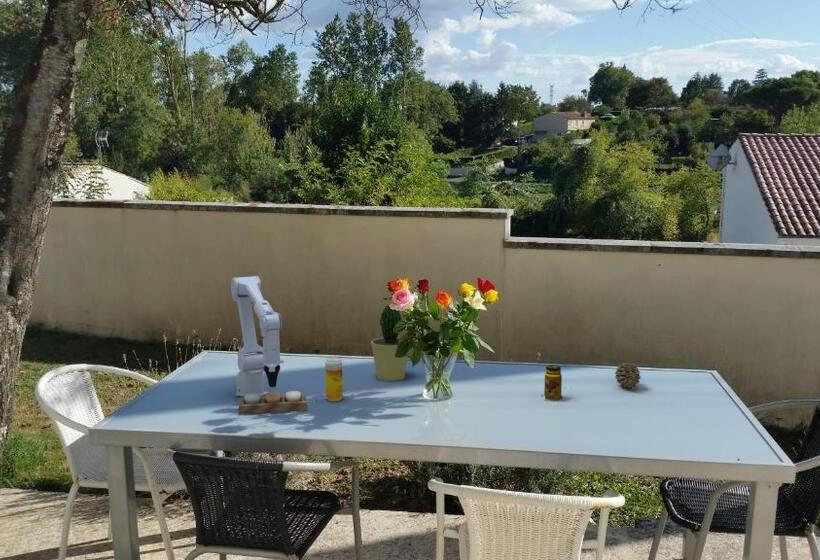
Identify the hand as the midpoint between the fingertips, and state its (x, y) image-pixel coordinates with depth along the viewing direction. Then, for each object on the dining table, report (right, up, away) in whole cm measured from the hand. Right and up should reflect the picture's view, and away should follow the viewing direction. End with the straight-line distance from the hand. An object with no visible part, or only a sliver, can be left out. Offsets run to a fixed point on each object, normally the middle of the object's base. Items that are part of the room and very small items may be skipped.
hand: (272, 386), depth 265 cm
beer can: (+20, -6, +11) cm, 24 cm away
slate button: (-7, -6, 0) cm, 9 cm away
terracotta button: (0, -5, +1) cm, 5 cm away
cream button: (+7, -5, +2) cm, 9 cm away
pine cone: (+131, -4, +29) cm, 134 cm away
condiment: (+100, -6, +13) cm, 101 cm away
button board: (0, -8, +1) cm, 8 cm away
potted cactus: (+40, -2, +40) cm, 57 cm away
